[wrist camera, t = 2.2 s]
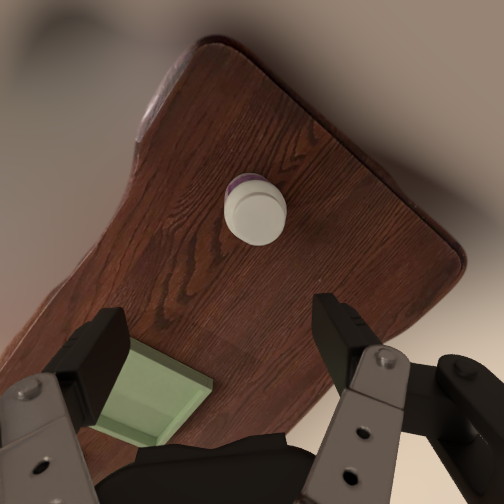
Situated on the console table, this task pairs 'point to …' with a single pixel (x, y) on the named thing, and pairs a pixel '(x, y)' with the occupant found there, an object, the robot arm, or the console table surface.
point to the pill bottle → (254, 209)
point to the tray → (151, 397)
